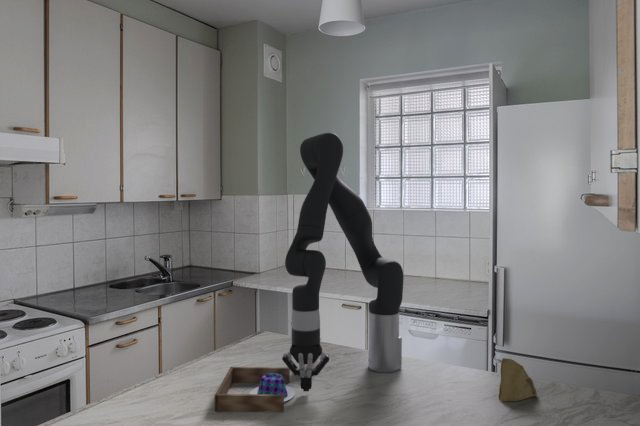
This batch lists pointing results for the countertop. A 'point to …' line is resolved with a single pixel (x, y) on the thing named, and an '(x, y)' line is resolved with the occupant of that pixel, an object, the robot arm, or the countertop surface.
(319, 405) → the countertop surface
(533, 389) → the rock
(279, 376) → the pudding
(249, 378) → the box
